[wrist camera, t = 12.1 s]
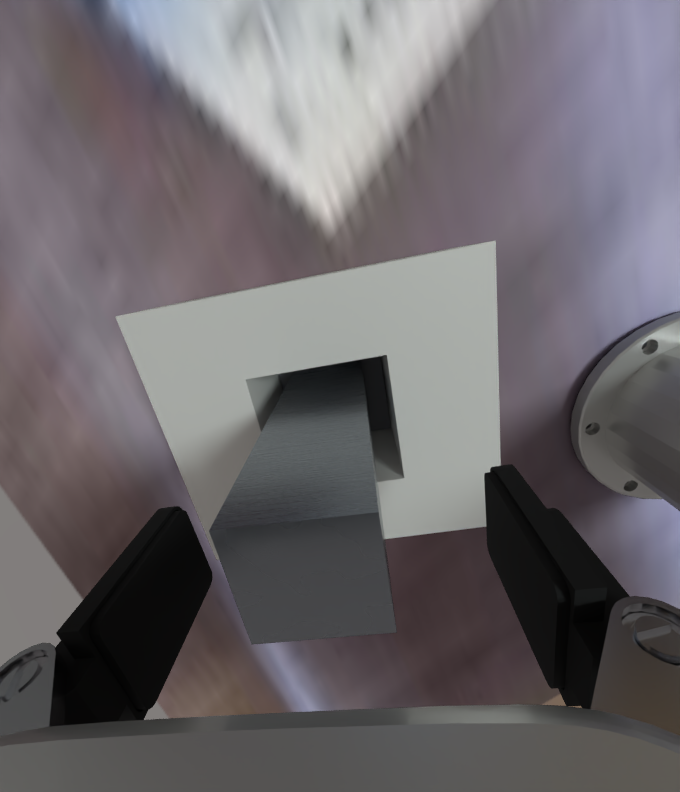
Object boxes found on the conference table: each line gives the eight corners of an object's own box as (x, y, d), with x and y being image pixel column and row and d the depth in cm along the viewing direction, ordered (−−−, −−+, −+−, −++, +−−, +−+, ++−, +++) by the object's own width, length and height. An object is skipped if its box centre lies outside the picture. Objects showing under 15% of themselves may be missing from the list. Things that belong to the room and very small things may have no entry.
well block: (452, 248, 19) (495, 240, 13) (465, 463, 24) (502, 524, 18) (180, 302, 20) (115, 316, 15) (246, 494, 25) (216, 559, 20)
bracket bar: (360, 356, 21) (378, 511, 8) (369, 415, 22) (396, 632, 9) (296, 365, 21) (208, 530, 8) (309, 423, 22) (251, 644, 9)
